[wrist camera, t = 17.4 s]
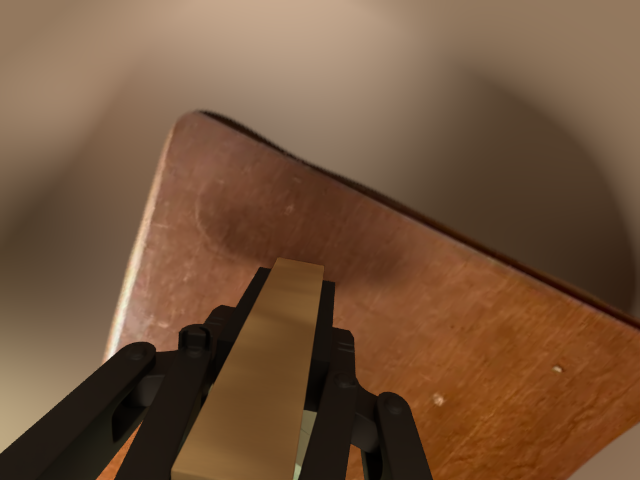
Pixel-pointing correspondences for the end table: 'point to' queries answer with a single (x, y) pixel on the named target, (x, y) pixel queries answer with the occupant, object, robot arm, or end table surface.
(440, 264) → the end table surface
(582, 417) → the end table surface
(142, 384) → the robot arm
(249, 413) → the stick
